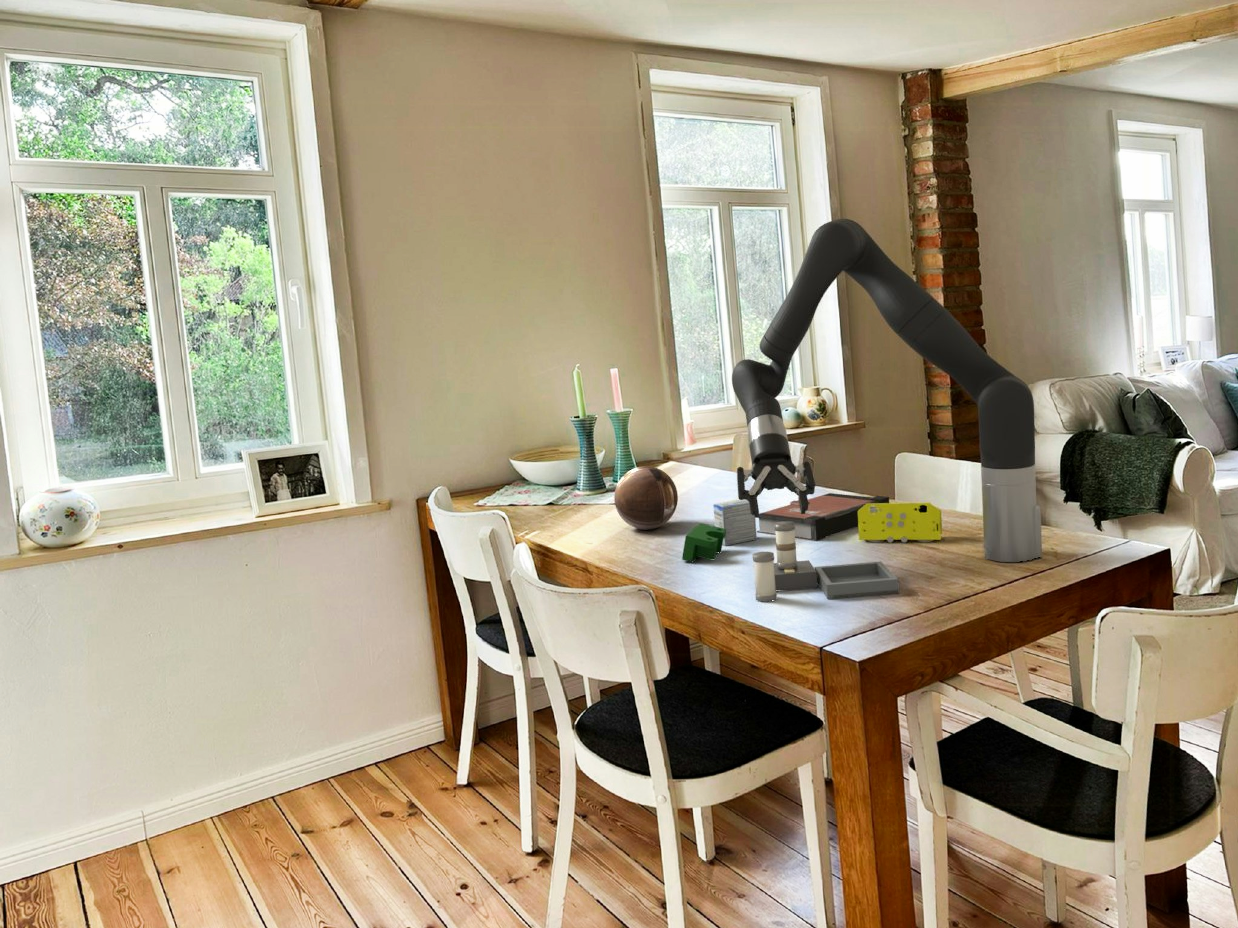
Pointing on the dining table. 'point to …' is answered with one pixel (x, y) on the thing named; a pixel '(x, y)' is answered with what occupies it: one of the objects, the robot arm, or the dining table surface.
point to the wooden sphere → (646, 497)
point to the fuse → (764, 576)
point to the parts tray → (856, 580)
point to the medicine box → (735, 521)
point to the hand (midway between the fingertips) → (780, 513)
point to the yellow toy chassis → (899, 522)
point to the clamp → (703, 542)
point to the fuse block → (796, 577)
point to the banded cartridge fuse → (785, 545)
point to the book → (819, 515)
